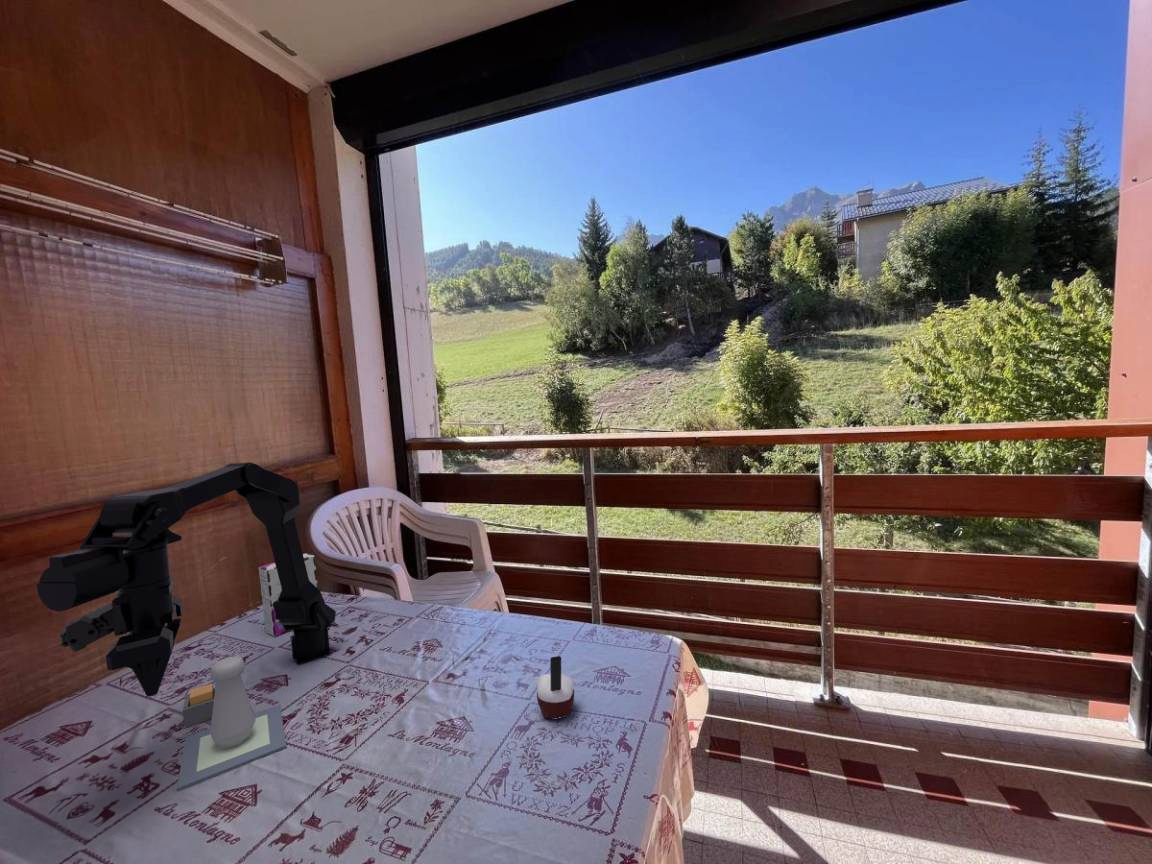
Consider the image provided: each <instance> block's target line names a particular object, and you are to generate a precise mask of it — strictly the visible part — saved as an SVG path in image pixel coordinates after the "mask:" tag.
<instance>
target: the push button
mask: <svg viewBox="0 0 1152 864" xmlns="http://www.w3.org/2000/svg"><path fill="white" fill-rule="evenodd" d="M213 688H214V686H213V683H210V684H205V685H203V686H202V685H201V686H199V687H197V688H192V689H190V693H189V695H190V698H189V699H190V706H193V705H196V704H199V703H202V702H206V701H209V700H212V699H214V694H213Z"/></svg>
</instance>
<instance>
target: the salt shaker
mask: <svg viewBox="0 0 1152 864" xmlns="http://www.w3.org/2000/svg"><path fill="white" fill-rule="evenodd" d="M244 670H245V661H244V659H243V657H241V656H237V655H236V656H235V655H234V656H229V657H225V658H222V659H220V660H218V661H217V662H215V663H214V664H213V665H212V666H211V668H210V678H211V680H212V681H213V682H214V683H215V687H214V688H215V694H214V703H213V712H212V720H210V724H211V725H210V729H211V730H210V734H211V737H212V740H213V741H214V742H215V743H216V744H217V745H218V746H219V747H221V748H222V749H223V750H225V749H229V748H233V747H237V746H239V745H240V744H242V743H243V742H244V741H246V740H247V739H249V737H250V734H251V731H252V728H253V725H254V723H255V720H256V717H255V715H254V713H255V712H254V709H253V707H252V703H251V701H250V698H249V695H248V692H247V689H246V687H245V684H244V680H243V677H242V675H241V674H242V673H243V672H244Z"/></svg>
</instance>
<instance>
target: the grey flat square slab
mask: <svg viewBox="0 0 1152 864" xmlns="http://www.w3.org/2000/svg"><path fill="white" fill-rule="evenodd" d="M254 715H255V717H256V720H255V723H254V725H253V728H252V731H251V734H250V737H249V739H247V740H246V741H244V742H243V743H242V744H240V745H239V746H237V747H233V748H229V749H225V750H223V749H222V748H221V747H219V746H218V745H217V744H216V743H215V742H214V741H213V740H212V737H211V734H210V730H211V728H208V729H205V730H202V731H200V732H197V733H194V734H191V735H188V736H185V738H184V745H183V751H182V756H181V762H180V769H179V775H178V780H177V786H176V790H177V791H182V790H184V789H186V788H189V787H191V786H193V785H196V784H200V783H202V782H203V781H204V782H205V781H206V780H209V779H211V778H214V777H216V776H217V777H218V776H220V775H221V774H224V773H227V772H229V771H232V770H235V769H237V768H240V767H241V766H244V765H247V764H249V763H252V762H255V761H257V760H259V759H261V758H264V757H267V756H270V755H271V754H274V753H277V752H279V751H282V750H284V749H286V748H287V744H286V737H285V729H284V722H283V717H282V709H281V704H276V705H274V706H272V707H271V706H270V707H268V708H266V709H263V710H260V711H257V712H254Z"/></svg>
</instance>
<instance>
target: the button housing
mask: <svg viewBox="0 0 1152 864" xmlns="http://www.w3.org/2000/svg"><path fill="white" fill-rule="evenodd" d="M213 694H215V687H213ZM189 698H190V694H189V695H187V696H185V697H184V702H183V706H182V707H183V709H182V716H183V725H184V726H183V727H184V730H186V729H188V728H189V729H190V728H191V727H195V726H198V725H199V724H200V725H201V724H203V723H206V722H209V721H212V712H213V703H214V699H212V700H209V701H206V702H202V703H199V704H196V705H193V706H190V699H189Z"/></svg>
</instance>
